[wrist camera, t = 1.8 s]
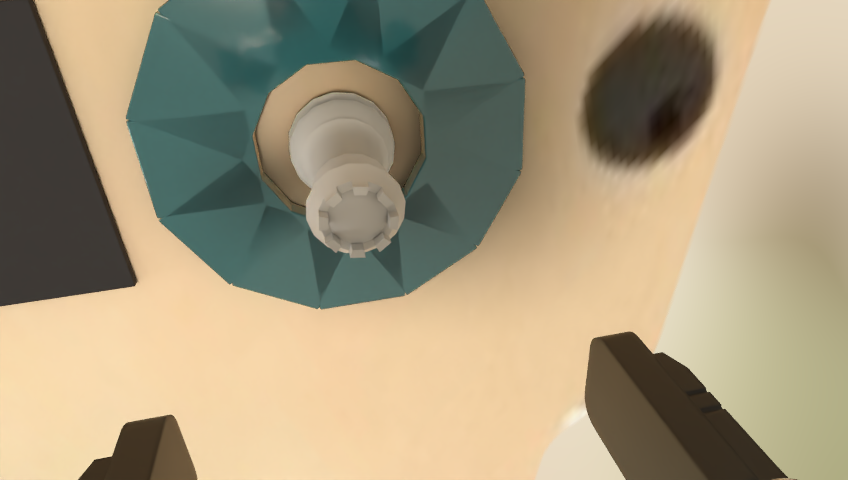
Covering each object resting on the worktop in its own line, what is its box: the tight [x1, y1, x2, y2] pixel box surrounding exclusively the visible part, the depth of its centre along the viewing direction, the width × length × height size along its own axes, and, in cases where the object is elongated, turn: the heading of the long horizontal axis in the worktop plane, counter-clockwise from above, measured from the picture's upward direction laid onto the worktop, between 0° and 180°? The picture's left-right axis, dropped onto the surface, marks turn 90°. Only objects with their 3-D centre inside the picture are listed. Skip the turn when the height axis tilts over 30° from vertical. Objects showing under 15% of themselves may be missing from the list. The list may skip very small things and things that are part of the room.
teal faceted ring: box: [126, 0, 525, 309], centre depth 24 cm, size 16×16×1 cm
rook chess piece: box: [289, 92, 406, 258], centre depth 21 cm, size 4×4×8 cm
